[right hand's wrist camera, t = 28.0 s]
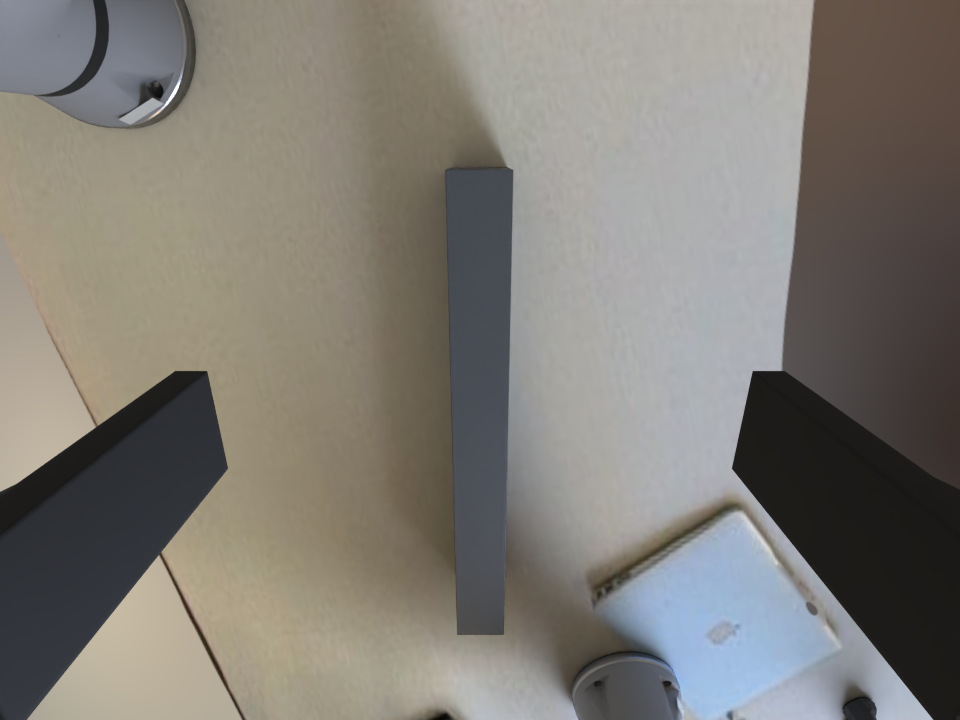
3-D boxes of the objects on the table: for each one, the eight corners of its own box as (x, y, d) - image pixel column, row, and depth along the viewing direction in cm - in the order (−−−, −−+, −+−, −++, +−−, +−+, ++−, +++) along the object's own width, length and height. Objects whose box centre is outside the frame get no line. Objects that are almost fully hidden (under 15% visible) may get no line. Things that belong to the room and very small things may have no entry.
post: (450, 167, 49) (445, 169, 41) (507, 167, 49) (513, 169, 41) (459, 579, 67) (457, 635, 59) (500, 578, 67) (503, 634, 59)
